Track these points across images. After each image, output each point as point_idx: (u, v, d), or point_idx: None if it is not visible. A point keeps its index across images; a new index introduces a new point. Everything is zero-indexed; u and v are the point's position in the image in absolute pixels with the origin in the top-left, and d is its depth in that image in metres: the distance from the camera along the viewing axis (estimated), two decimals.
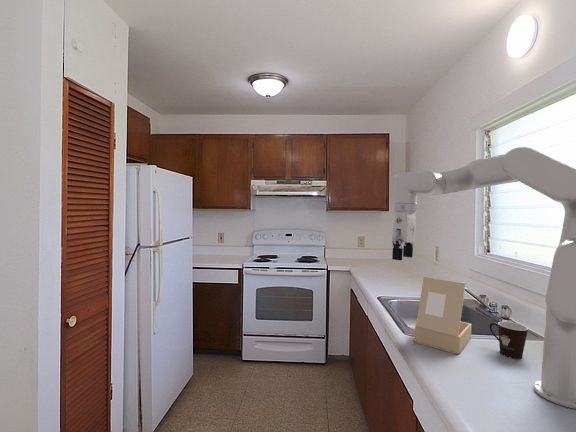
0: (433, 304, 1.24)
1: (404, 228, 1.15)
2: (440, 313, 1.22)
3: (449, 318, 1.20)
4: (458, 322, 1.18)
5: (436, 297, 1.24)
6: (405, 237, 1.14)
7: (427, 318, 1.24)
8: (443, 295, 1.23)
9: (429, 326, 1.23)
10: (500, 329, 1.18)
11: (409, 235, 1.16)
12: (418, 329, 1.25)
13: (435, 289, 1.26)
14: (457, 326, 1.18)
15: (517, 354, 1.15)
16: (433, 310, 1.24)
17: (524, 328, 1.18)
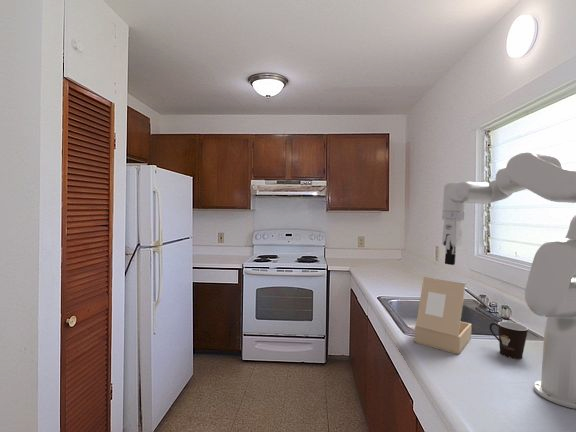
0: (433, 304, 1.24)
1: (454, 234, 1.26)
2: (440, 313, 1.22)
3: (449, 318, 1.20)
4: (458, 322, 1.18)
5: (436, 297, 1.24)
6: (454, 242, 1.26)
7: (427, 318, 1.24)
8: (443, 295, 1.23)
9: (429, 326, 1.23)
10: (500, 329, 1.18)
11: (457, 240, 1.28)
12: (418, 329, 1.25)
13: (435, 289, 1.26)
14: (457, 326, 1.18)
15: (517, 354, 1.15)
16: (433, 310, 1.24)
17: (524, 328, 1.18)
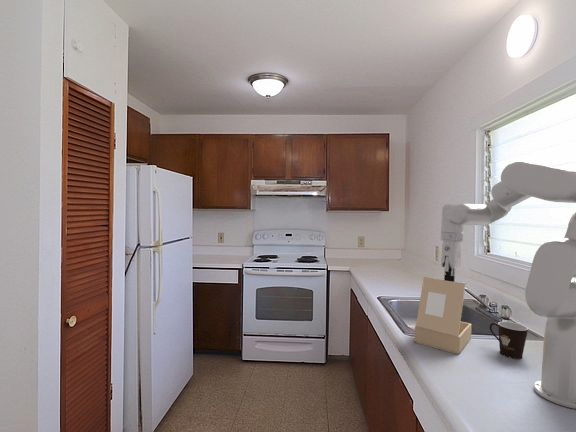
0: (433, 304, 1.24)
1: (452, 255, 1.26)
2: (440, 313, 1.22)
3: (449, 318, 1.20)
4: (458, 322, 1.18)
5: (436, 297, 1.24)
6: (453, 264, 1.26)
7: (427, 318, 1.24)
8: (443, 295, 1.23)
9: (429, 326, 1.23)
10: (500, 329, 1.18)
11: (456, 262, 1.27)
12: (418, 329, 1.25)
13: (435, 289, 1.26)
14: (457, 326, 1.18)
15: (517, 354, 1.15)
16: (433, 310, 1.24)
17: (524, 328, 1.18)
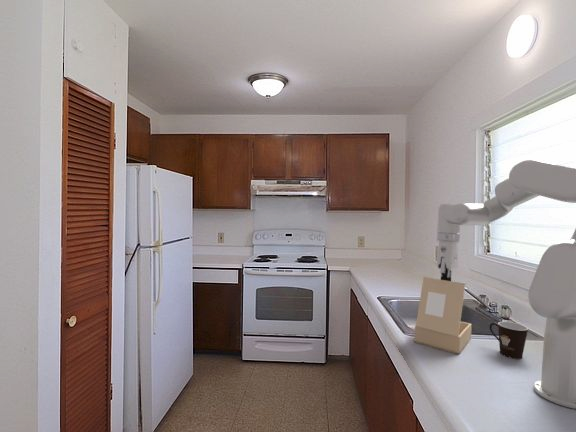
0: (433, 304, 1.24)
1: (449, 257, 1.22)
2: (440, 313, 1.22)
3: (449, 318, 1.20)
4: (458, 322, 1.18)
5: (436, 297, 1.24)
6: (450, 265, 1.22)
7: (427, 318, 1.24)
8: (443, 295, 1.23)
9: (429, 326, 1.23)
10: (500, 329, 1.18)
11: (453, 263, 1.23)
12: (418, 329, 1.25)
13: (435, 289, 1.25)
14: (457, 326, 1.18)
15: (517, 354, 1.15)
16: (433, 310, 1.24)
17: (524, 328, 1.18)
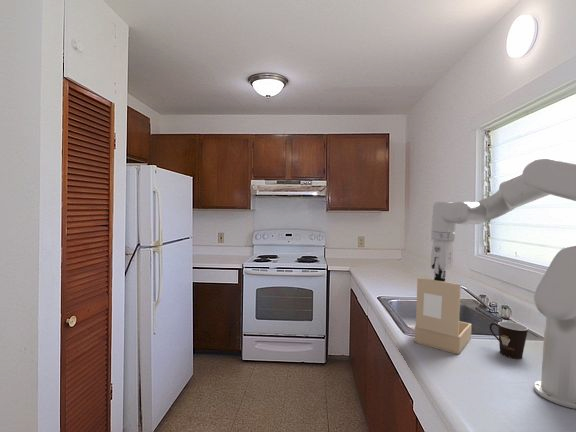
0: (430, 305, 1.22)
1: (443, 257, 1.17)
2: (438, 315, 1.20)
3: (448, 319, 1.18)
4: (457, 323, 1.16)
5: (432, 299, 1.21)
6: (443, 266, 1.17)
7: (426, 319, 1.23)
8: (439, 296, 1.20)
9: (429, 327, 1.22)
10: (500, 329, 1.18)
11: (447, 263, 1.18)
12: (418, 329, 1.25)
13: (430, 291, 1.21)
14: (456, 327, 1.17)
15: (517, 354, 1.15)
16: (431, 312, 1.22)
17: (524, 328, 1.18)
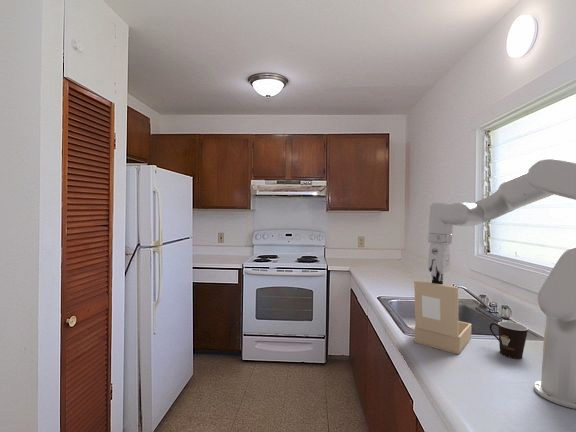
0: (428, 307, 1.20)
1: (440, 259, 1.14)
2: (437, 316, 1.19)
3: (447, 321, 1.17)
4: (456, 325, 1.16)
5: (430, 301, 1.19)
6: (441, 268, 1.14)
7: (425, 320, 1.22)
8: (437, 299, 1.18)
9: (428, 328, 1.22)
10: (500, 329, 1.18)
11: (445, 266, 1.16)
12: (418, 329, 1.25)
13: (428, 293, 1.19)
14: (456, 328, 1.16)
15: (517, 354, 1.15)
16: (430, 313, 1.21)
17: (524, 328, 1.18)
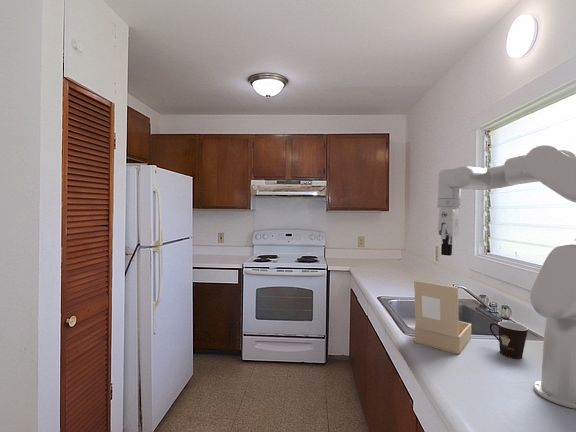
0: (428, 307, 1.20)
1: (450, 222, 1.20)
2: (437, 316, 1.19)
3: (447, 321, 1.17)
4: (456, 325, 1.16)
5: (430, 301, 1.19)
6: (451, 231, 1.19)
7: (425, 320, 1.22)
8: (437, 299, 1.18)
9: (428, 328, 1.22)
10: (500, 329, 1.18)
11: (454, 229, 1.21)
12: (418, 329, 1.25)
13: (428, 293, 1.19)
14: (456, 328, 1.16)
15: (517, 354, 1.15)
16: (430, 313, 1.21)
17: (524, 328, 1.18)
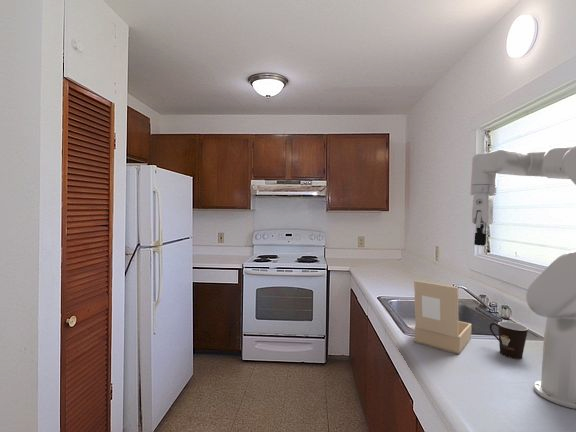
0: (428, 307, 1.20)
1: (485, 210, 1.12)
2: (437, 316, 1.19)
3: (447, 321, 1.17)
4: (456, 325, 1.16)
5: (430, 301, 1.19)
6: (487, 219, 1.12)
7: (425, 320, 1.22)
8: (437, 299, 1.18)
9: (428, 328, 1.22)
10: (500, 329, 1.18)
11: (489, 217, 1.14)
12: (418, 329, 1.25)
13: (428, 293, 1.19)
14: (456, 328, 1.16)
15: (517, 354, 1.15)
16: (430, 313, 1.21)
17: (524, 328, 1.18)
